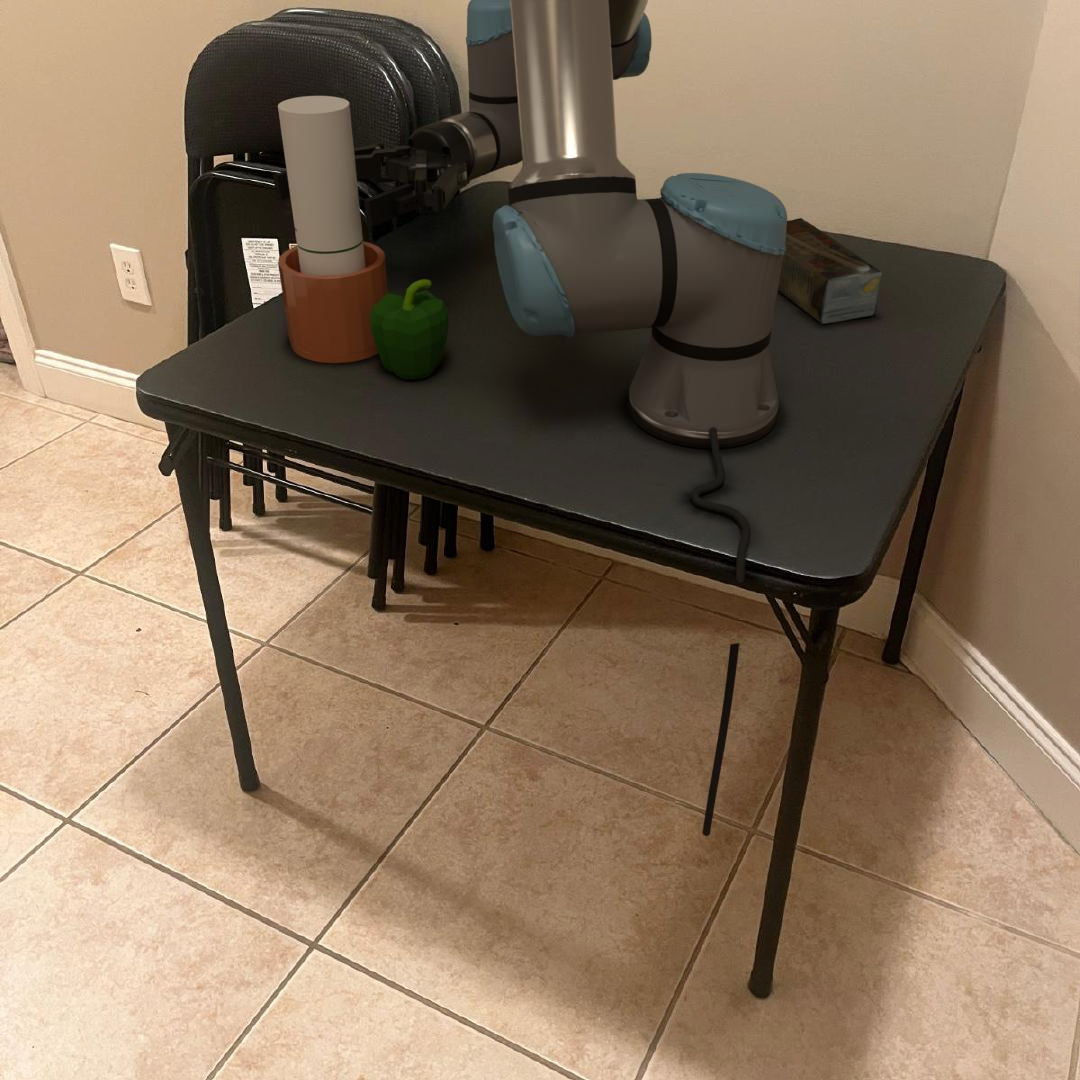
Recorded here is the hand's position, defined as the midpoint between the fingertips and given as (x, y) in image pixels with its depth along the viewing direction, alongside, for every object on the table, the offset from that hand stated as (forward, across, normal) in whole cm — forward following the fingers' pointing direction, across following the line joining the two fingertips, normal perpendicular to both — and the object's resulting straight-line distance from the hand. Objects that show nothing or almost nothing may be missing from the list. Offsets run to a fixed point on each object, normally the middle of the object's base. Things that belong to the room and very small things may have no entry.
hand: (321, 200), depth 109 cm
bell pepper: (0, -12, -17) cm, 20 cm away
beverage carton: (-46, -38, -17) cm, 62 cm away
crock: (-1, 0, -16) cm, 17 cm away
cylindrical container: (-1, 0, -16) cm, 16 cm away
